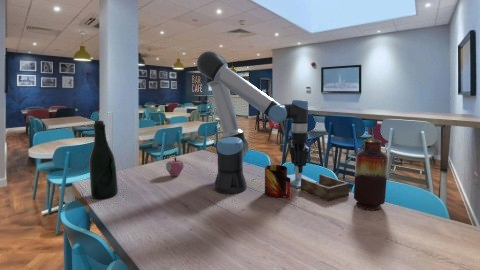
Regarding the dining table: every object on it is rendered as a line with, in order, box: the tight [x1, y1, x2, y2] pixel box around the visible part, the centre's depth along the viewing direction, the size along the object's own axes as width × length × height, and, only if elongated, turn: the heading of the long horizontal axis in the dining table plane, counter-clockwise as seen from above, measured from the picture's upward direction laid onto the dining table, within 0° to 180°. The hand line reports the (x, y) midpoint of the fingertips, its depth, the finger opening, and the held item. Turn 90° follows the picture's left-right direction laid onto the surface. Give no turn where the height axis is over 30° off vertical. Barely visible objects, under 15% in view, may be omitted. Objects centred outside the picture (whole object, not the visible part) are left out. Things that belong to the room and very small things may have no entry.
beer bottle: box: [88, 120, 119, 200], centre depth 116 cm, size 10×10×33 cm
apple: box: [165, 156, 185, 177], centre depth 145 cm, size 10×9×10 cm
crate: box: [300, 173, 350, 202], centre depth 119 cm, size 16×13×6 cm
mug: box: [264, 164, 291, 200], centre depth 116 cm, size 10×14×12 cm
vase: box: [353, 138, 389, 212], centre depth 103 cm, size 11×11×26 cm
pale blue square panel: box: [287, 173, 318, 189], centre depth 134 cm, size 13×13×1 cm
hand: (298, 178), depth 134 cm, fingers closed
